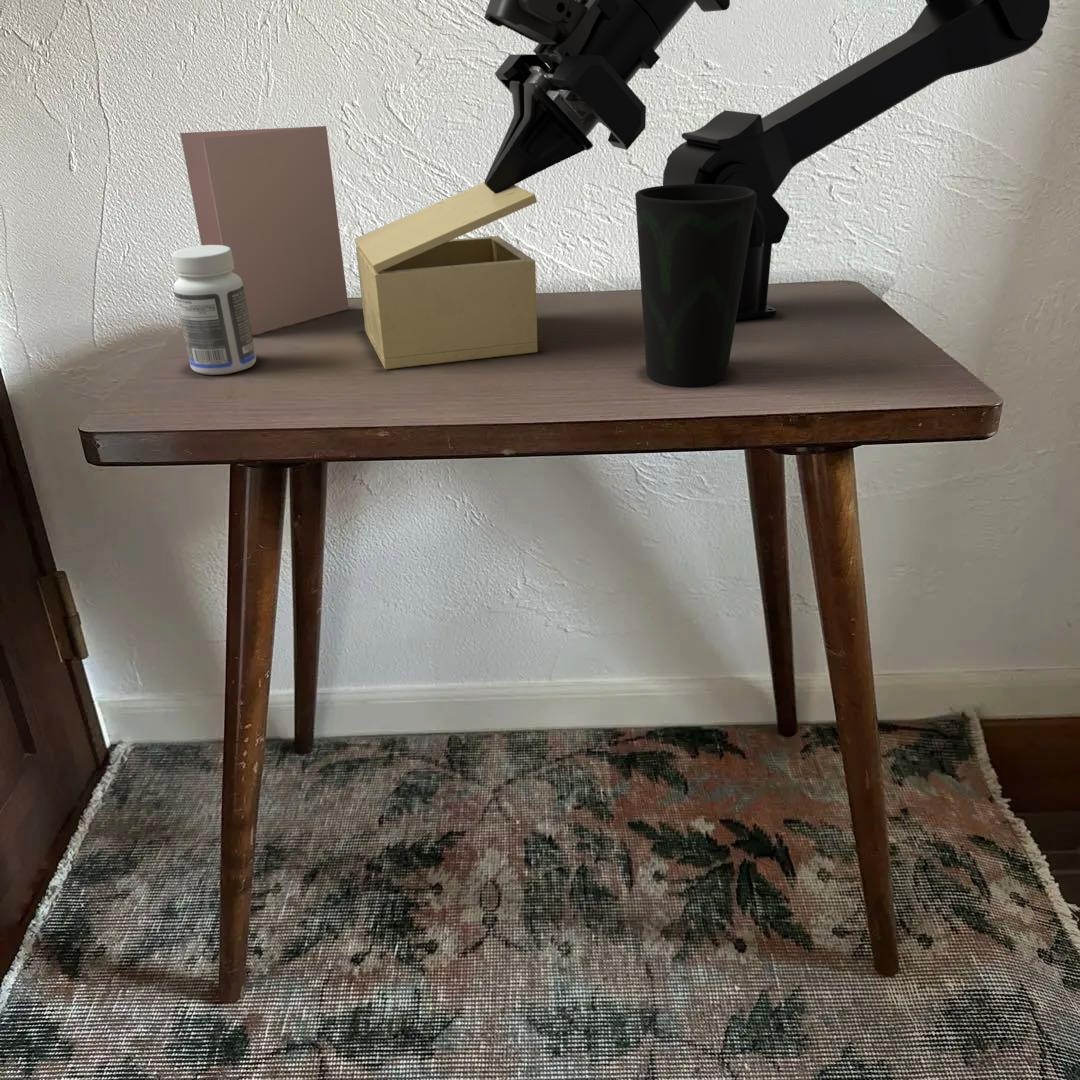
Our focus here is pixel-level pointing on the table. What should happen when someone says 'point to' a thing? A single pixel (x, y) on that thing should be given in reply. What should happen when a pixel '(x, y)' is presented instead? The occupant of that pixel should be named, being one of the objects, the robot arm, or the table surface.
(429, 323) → the pale yellow box
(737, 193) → the cup
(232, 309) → the pill bottle
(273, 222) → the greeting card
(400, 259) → the lid
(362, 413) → the table surface
